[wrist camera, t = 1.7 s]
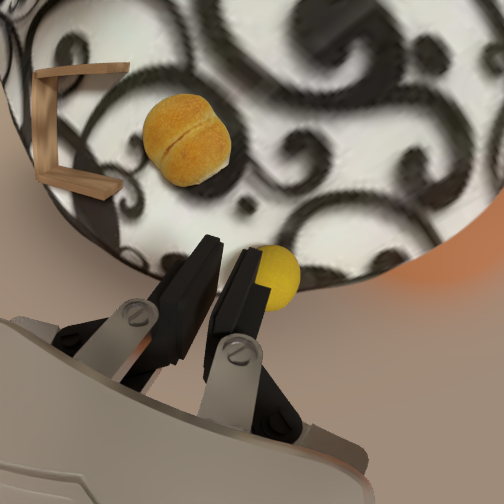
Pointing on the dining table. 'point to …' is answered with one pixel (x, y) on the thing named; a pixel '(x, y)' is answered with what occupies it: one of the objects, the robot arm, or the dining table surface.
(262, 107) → the dining table surface
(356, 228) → the dining table surface
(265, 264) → the lemon
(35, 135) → the bay
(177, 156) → the bread roll
